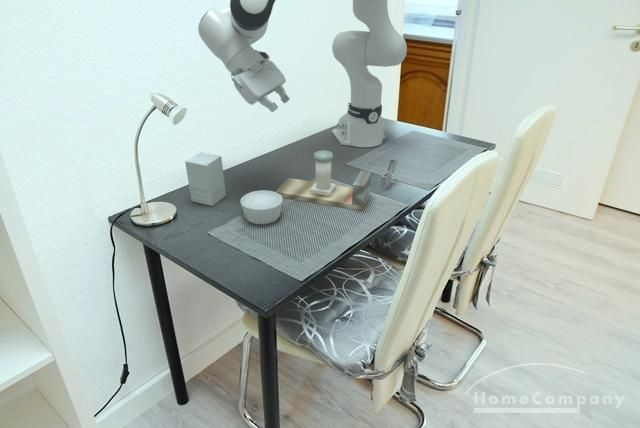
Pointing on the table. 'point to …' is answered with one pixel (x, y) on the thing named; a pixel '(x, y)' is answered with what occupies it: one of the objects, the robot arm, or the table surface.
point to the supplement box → (206, 178)
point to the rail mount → (339, 196)
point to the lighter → (388, 175)
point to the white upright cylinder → (323, 174)
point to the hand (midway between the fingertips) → (281, 105)
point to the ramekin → (262, 206)
